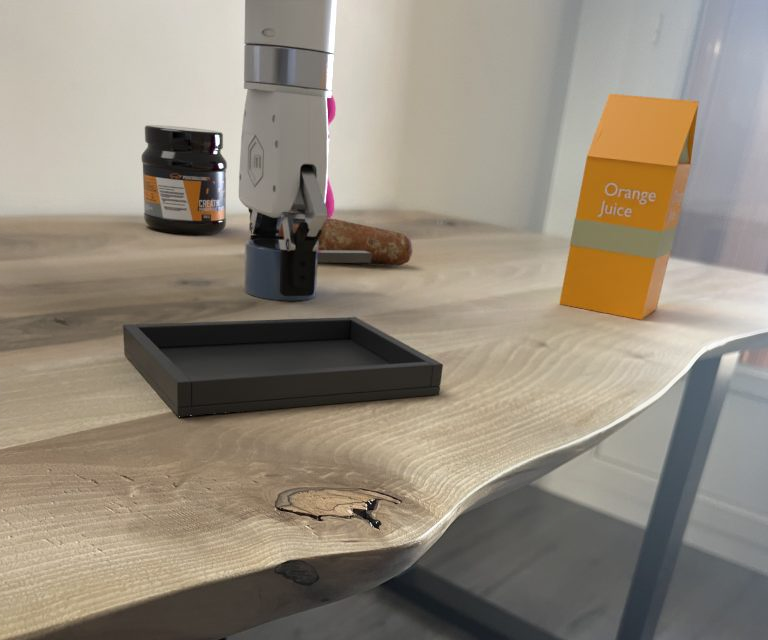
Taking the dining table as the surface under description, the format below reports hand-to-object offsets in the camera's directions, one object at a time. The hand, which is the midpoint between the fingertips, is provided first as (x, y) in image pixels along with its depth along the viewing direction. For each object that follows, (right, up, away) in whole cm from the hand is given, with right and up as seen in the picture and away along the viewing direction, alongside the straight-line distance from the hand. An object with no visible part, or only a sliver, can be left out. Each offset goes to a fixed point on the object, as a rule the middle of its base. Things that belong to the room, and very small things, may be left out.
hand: (280, 284), depth 78 cm
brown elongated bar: (+4, +8, +19) cm, 21 cm away
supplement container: (-16, +15, +30) cm, 37 cm away
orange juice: (+34, 0, +10) cm, 35 cm away
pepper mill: (-1, +14, +31) cm, 34 cm away
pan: (+2, 0, +2) cm, 3 cm away
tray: (+3, -12, -23) cm, 26 cm away
